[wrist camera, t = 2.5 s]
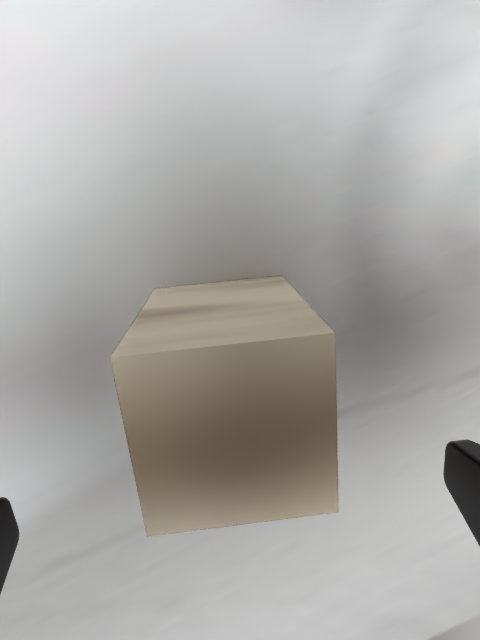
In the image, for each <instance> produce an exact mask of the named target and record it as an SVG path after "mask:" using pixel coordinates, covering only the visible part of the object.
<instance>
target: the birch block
mask: <svg viewBox="0 0 480 640" xmlns="http://www.w3.org/2000/svg"><path fill="white" fill-rule="evenodd" d="M110 361H111V366H112V370H113V375H114V380H115V385H116V390H117V394H118V399H119V404H120V409H121V414H122V418H123V423H124V428H125V433H126V438H127V442H128V447H129V452H130V457H131V462H132V467H133V471H134V476H135V481H136V486H137V491H138V495H139V500H140V505H141V510H142V515H143V519H144V524H145V529H146V534H147V537H149V536H156V535H164V534H172V533H180V532H188V531H195V530H203V529H211V528H219V527H227V526H234V525H242V524H250V523H258V522H266V521H273V520H281V519H289V518H297V517H305V516H312V515H320V514H328V513H336V512H338V459H337V405H336V350H335V332H334V331H333V330H332V329H331V328H330V327H329V326H328V325H327V323H326V322H325V321H324V320H323V319H322V318H321V317H320V316H319V315H318V314H317V313H316V312H315V311H314V309H313V308H312V307H311V306H310V305H309V304H308V303H307V302H306V301H305V300H304V299H303V298H302V297H301V296H300V294H299V293H298V292H297V291H296V290H295V289H294V288H293V287H292V286H291V285H290V284H289V283H288V282H287V280H286V279H285V278H284V277H283V276H282V275H280V276H271V277H261V278H251V279H242V280H232V281H222V282H213V283H203V284H194V285H184V286H174V287H165V288H155V289H154V291H153V292H152V294H151V295H150V297H149V298H148V300H147V301H146V303H145V304H144V306H143V308H142V309H141V311H140V312H139V314H138V315H137V317H136V318H135V320H134V321H133V323H132V324H131V326H130V327H129V329H128V331H127V332H126V334H125V335H124V337H123V338H122V340H121V341H120V343H119V344H118V346H117V347H116V349H115V350H114V352H113V353H112V355H111V357H110Z"/></svg>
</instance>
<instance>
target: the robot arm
mask: <svg viewBox="0 0 480 640" xmlns="http://www.w3.org/2000/svg"><path fill="white" fill-rule="evenodd" d="M444 480H445V484H446V486H447V488H448V490H449V492H450V494H451V495H452V497H453V499H454V501H455V503H456V505H457V506H458V508H459V510H460V512H461V514H462V515H463V517H464V519H465V521H466V523H467V524H468V526H469V528H470V530H471V532H472V533H473V535H474V537H475V539H476V541H477V542H478V544H479V546H480V444H478V443H475V442H473V441H470V440H458V441H451V442H449V443H448V444H447V446H446V450H445V462H444ZM18 540H19V529H18V525H17V522H16V519H15V516H14V513H13V510H12V507H11V504H10V502H9V500H8V499H7V498H4V497H0V594H1V591H2V588H3V585H4V582H5V579H6V576H7V573H8V570H9V567H10V565H11V562H12V559H13V556H14V553H15V550H16V547H17V544H18Z"/></svg>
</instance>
